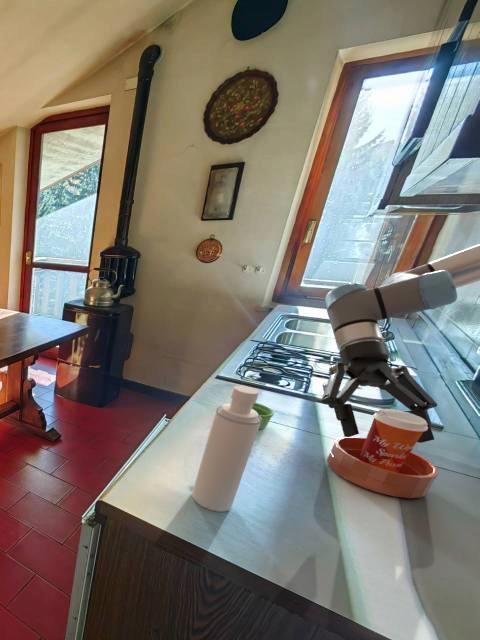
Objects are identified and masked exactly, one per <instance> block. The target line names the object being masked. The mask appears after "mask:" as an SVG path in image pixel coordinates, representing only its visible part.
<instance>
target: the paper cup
mask: <svg viewBox="0 0 480 640" xmlns="http://www.w3.org/2000/svg"><path fill="white" fill-rule="evenodd" d="M372 417H373V420H372V423H371V425H370V428H369V431H368V433H367V436H366V437H365V438H366V440H365V443H364V446H363V449H362V451H361V454H360V457H359V460H361V461H363V462H366V463H368V464H370V465H373V466H376V467H379V468H382V469H385V470H388V471H392V472H398V470H399V469H400V467H401V466H402V464H403V463H404V461H405V460H406V458H407V456H408V455H409V453H410V452H412V450H413V449H414V447H415V446H416V444H417V443H418V442H417V441H418V439H419V438H420V436H421V435H422V433H423V432H424V431H427V430H428V427H427V425H428V424H427V423H426V420H424V419H423V418H421V417H419V416H416V415H414V414H411V413H408V412H407V411H403V410H399V409H393V408H380V409H378V410H377V411H376V412H374V414H373V415H372Z"/></svg>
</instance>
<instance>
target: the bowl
mask: <svg viewBox="0 0 480 640" xmlns="http://www.w3.org/2000/svg"><path fill="white" fill-rule="evenodd" d="M366 438H367V437H361V436H351V437H344V436H340V437H338V438H336V439H335V441H334V443H333V446H332V448H331V450H330V452H329V455H328V457H327V459H326V463H327V465H328V467H329V468H330V469H331V470H332V471H333V472H334V473H336V474H337V475H339V476H340V477H342V478H344V479H345V480H347V481H348V482H351V483H352V484H355V485H357V486H359V487H362V488H364V489H366V490H369V491H372V492H375V493H377V494H378V493H379V494H382V495H386V496H391V497H396V498H397V497H398V498H403V499H419V498H420V499H421V498H423V497H425V496H426V495H427V494H428V492H429V490H430V489H431V488H432V486H433V484H434V482H435V480H436V478H437V477H438V475H439V468H437V466H436V465H435V464H434V463H433V462H431V461H429V460H428V459H427V458H425V457H423V456H422V455H420V454H417V453H415V452H413V451H411V452H410V453H409V455H408V456H407V458H406V460H405V461H404V463H403V464H402V466H401V467H400V469H399V470H398V472H392V471H388V470H385V469H382V468H379V467H376V466H373V465H370V464H368V463H366V462H363V461H361V460H359V457H360V454H361V451H362V449H363V446H364V443H365V440H366Z"/></svg>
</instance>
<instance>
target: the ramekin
mask: <svg viewBox="0 0 480 640" xmlns="http://www.w3.org/2000/svg"><path fill="white" fill-rule="evenodd" d="M252 409H253V410H255V411H256V412H257V413H258V415H259V416H260V417H261V418H262V420H260V421H261V423H260V426H259V429H258V430H264V429H265V428H267V427H268V425H269V423H270V421H271V419H272V417H274V414H275V412H274V411H273V410H272V409H271V408H270V407H269V406H266V405H264V404H261V403H258V402H256V403H255V404H253V406H252Z"/></svg>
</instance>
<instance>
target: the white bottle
mask: <svg viewBox="0 0 480 640" xmlns="http://www.w3.org/2000/svg"><path fill="white" fill-rule="evenodd" d="M259 393H260V392H259V390H258V389H256V388H253V387H251V386H246V385H235V386H233V389H232V392H231V396H230V398H231V402H230V403H225V404H222V405H219V406H218V407H217V408H216V409H215V412H214V413H215V414H214V416H213V420H212V423H211V427H210V429H209V432H208V437H207V439H206V443H205V447H204V450H203V454H202V457H201V460H200V464H199V467H198V471H197V474H196V478H195V480H194V484H193V488H192V491H191V496H192V500H194V501H195V503H197V505H199V506H201V507H203V508H205V509H207V510H210V511H213V512H218V513H223V512H228V511H230V510H231V509H232V507H233V504H234V501H235V498H236V495H237V492H238V490H239V487H240V483H241V481H242V478H243V475H244V472H245V470H246V467H247V463H248V461H249V457H250V455H251V452H252V449H253V446H254V444H255V441H256V438H257V434H258V431H259V430H260V429H259V426H260V423H261V421H260V420H262V418H261V417H260V416H259V415H258V413H257V412H256V411H255V410H253V409H252V406H253V404H255V403H257V400H258V397H259Z"/></svg>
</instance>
